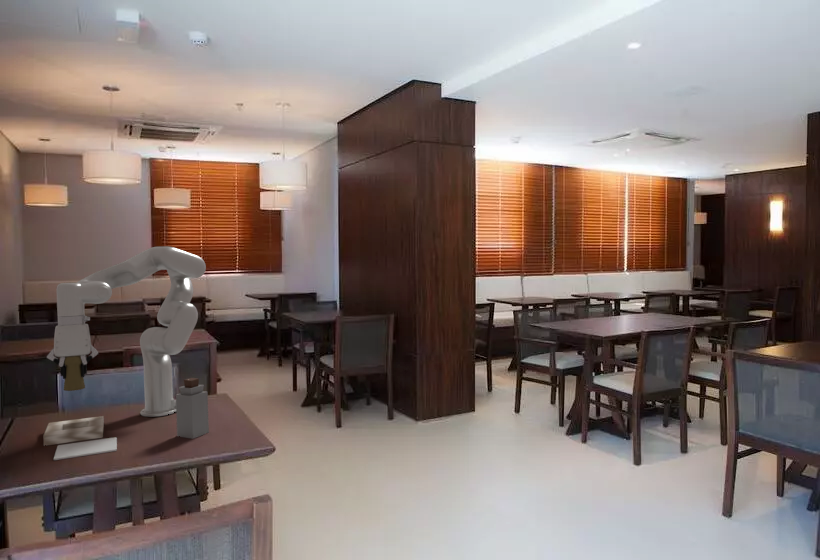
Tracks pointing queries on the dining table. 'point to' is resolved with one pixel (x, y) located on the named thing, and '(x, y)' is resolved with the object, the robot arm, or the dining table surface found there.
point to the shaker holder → (74, 430)
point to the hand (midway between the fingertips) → (74, 376)
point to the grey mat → (86, 448)
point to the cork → (73, 374)
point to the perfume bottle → (192, 409)
